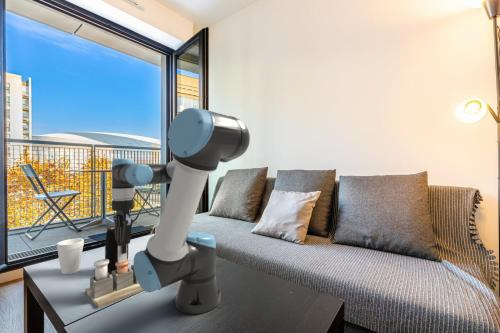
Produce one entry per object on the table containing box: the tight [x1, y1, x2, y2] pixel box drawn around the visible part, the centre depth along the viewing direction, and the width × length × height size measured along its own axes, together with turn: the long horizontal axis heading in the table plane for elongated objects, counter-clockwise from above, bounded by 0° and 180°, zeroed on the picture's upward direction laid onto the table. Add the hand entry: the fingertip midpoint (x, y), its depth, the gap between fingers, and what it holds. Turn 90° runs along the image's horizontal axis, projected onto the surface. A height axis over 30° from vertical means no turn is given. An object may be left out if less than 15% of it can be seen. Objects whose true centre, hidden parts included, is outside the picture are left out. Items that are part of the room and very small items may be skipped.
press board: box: [84, 264, 145, 309], centre depth 89 cm, size 15×20×7 cm
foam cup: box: [56, 237, 85, 275], centre depth 104 cm, size 10×9×13 cm
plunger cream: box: [93, 258, 109, 282], centre depth 84 cm, size 5×5×7 cm
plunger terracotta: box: [116, 259, 130, 275], centre depth 89 cm, size 5×5×7 cm
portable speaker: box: [104, 225, 129, 275], centre depth 105 cm, size 9×9×20 cm
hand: (122, 261), depth 89 cm, fingers closed
